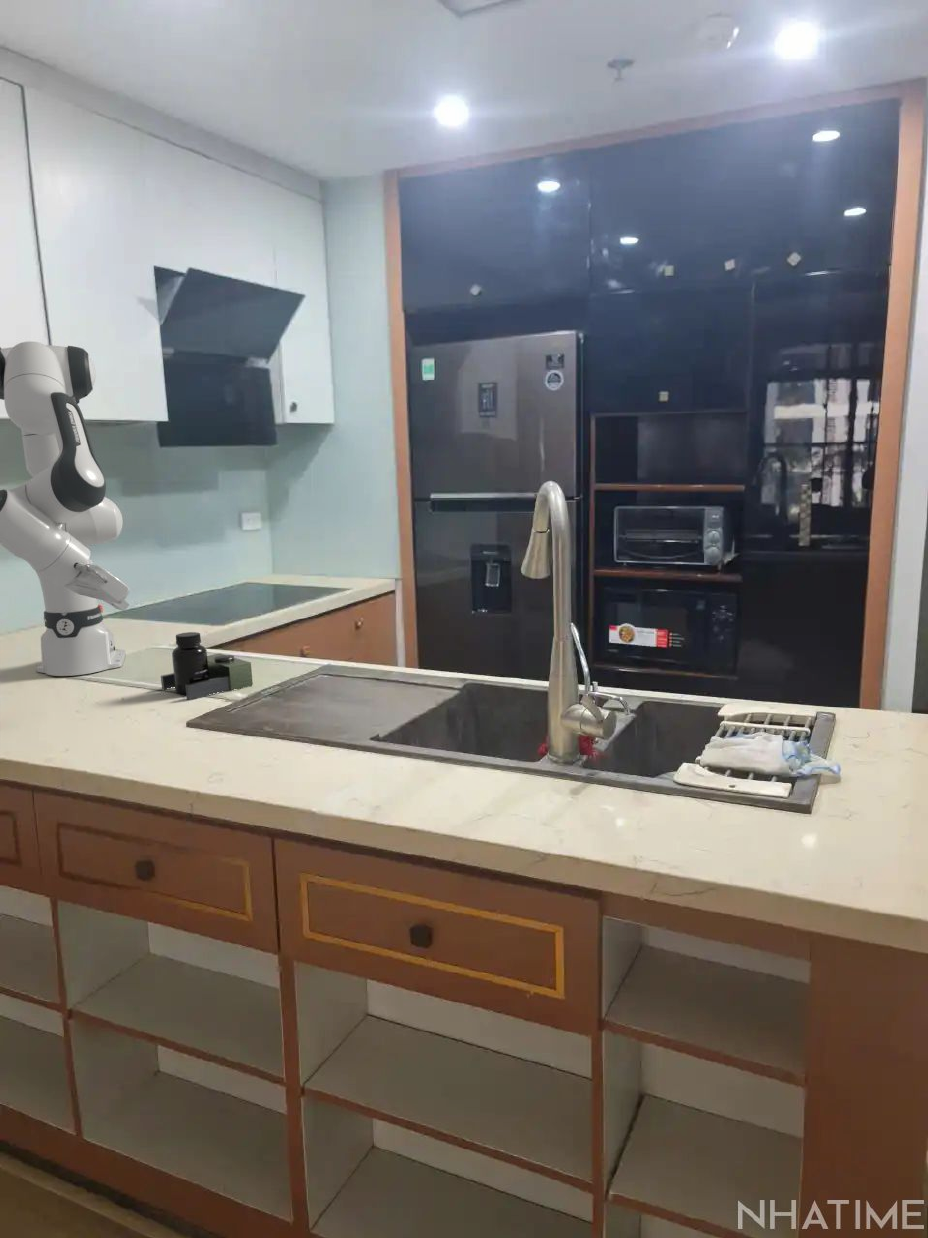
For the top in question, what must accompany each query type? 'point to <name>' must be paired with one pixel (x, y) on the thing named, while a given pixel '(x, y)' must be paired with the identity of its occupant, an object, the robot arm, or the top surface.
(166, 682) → the chute bracket
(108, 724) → the top surface
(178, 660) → the supplement bottle
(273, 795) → the top surface
